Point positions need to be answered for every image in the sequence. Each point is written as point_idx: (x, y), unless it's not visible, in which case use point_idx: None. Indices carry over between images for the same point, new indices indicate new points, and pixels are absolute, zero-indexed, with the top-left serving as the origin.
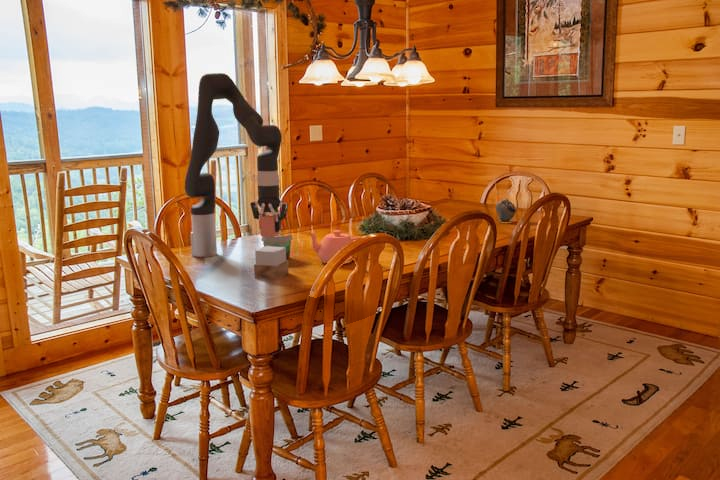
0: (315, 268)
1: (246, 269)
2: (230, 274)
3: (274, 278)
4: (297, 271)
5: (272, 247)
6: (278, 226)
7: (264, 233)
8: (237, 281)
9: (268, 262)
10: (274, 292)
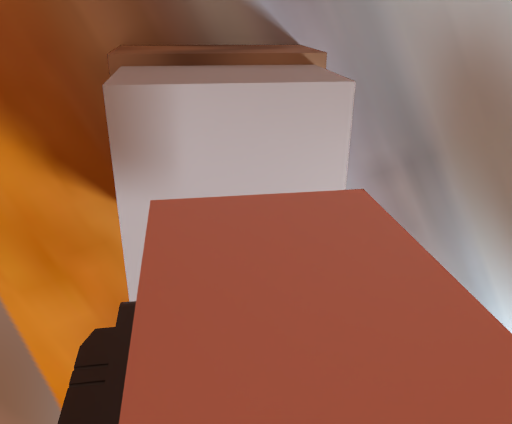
0: (38, 348)
1: (421, 200)
2: (479, 69)
3: (144, 45)
4: (105, 262)
5: None
6: (81, 385)
7: (313, 210)
8: None
9: (198, 69)
10: None
